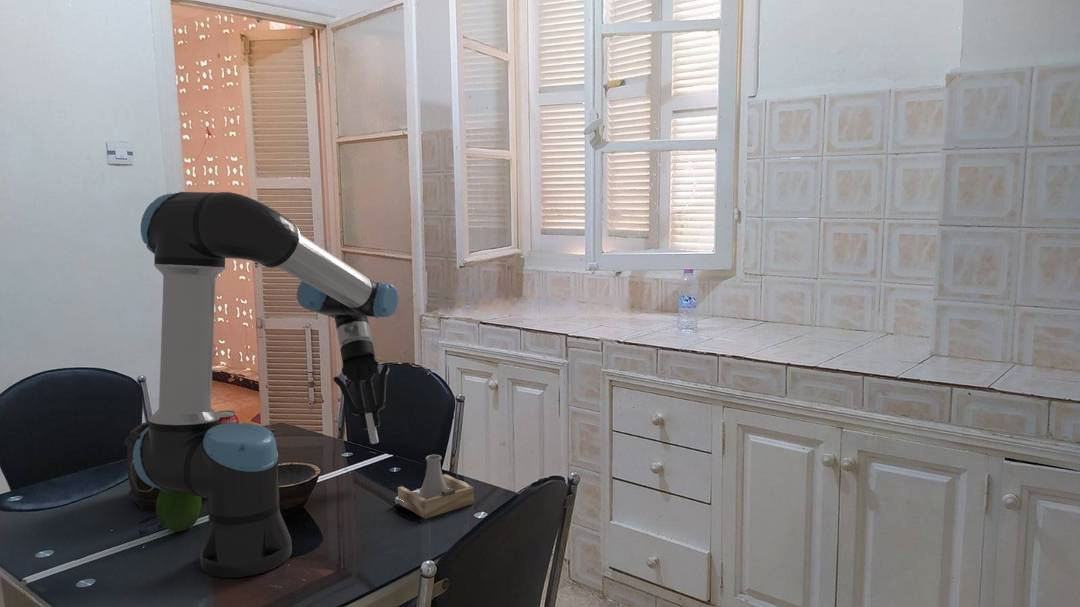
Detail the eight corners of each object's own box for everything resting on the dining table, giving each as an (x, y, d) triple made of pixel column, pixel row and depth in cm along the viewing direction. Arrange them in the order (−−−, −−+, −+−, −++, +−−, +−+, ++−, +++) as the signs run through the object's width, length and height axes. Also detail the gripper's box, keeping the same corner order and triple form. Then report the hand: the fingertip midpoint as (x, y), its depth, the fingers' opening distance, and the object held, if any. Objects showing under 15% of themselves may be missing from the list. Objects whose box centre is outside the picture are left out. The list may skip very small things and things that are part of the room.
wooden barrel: (211, 510, 155) (206, 436, 153) (117, 516, 152) (111, 440, 150) (232, 479, 173) (228, 412, 171) (149, 483, 170) (144, 416, 168)
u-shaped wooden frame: (474, 503, 158) (474, 483, 158) (425, 519, 151) (424, 498, 150) (446, 489, 166) (445, 470, 166) (398, 503, 159) (397, 483, 158)
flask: (434, 493, 164) (433, 449, 163) (459, 501, 160) (458, 455, 159) (409, 504, 158) (408, 458, 157) (435, 512, 154) (434, 465, 153)
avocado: (208, 520, 150) (204, 462, 149) (195, 537, 143) (191, 476, 141) (166, 522, 149) (162, 463, 148) (150, 539, 142) (146, 478, 140)
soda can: (215, 457, 188) (212, 410, 186) (244, 455, 189) (242, 409, 187) (205, 466, 181) (202, 418, 180) (236, 465, 182) (233, 417, 180)
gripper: (324, 346, 172) (342, 446, 165) (381, 333, 174) (401, 432, 166) (331, 355, 179) (348, 452, 172) (386, 342, 181) (405, 437, 174)
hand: (374, 442), depth 169 cm, fingers closed
